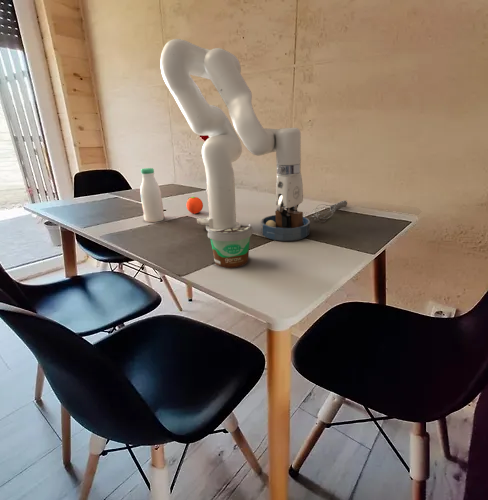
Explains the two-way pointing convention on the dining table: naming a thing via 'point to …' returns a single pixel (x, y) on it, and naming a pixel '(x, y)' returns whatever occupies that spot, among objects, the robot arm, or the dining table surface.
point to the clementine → (194, 205)
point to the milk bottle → (151, 197)
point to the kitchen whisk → (332, 208)
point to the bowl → (284, 230)
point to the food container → (230, 246)
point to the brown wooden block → (295, 219)
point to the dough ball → (271, 223)
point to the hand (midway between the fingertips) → (289, 225)
